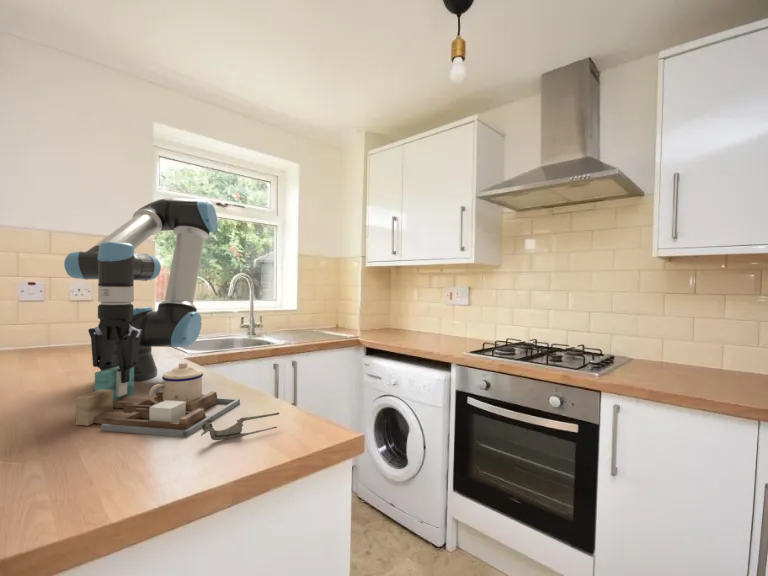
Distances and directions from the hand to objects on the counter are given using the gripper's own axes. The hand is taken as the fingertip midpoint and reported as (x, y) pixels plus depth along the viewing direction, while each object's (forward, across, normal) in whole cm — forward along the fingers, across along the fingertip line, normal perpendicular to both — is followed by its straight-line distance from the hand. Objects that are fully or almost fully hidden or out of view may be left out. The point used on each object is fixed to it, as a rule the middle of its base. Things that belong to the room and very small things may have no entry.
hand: (115, 394), depth 99 cm
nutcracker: (+3, +41, -14) cm, 43 cm away
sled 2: (+3, +20, -11) cm, 23 cm away
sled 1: (+3, +16, 0) cm, 16 cm away
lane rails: (+3, +20, -5) cm, 21 cm away
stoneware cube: (+3, +22, -11) cm, 25 cm away
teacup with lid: (+3, +18, -2) cm, 18 cm away
